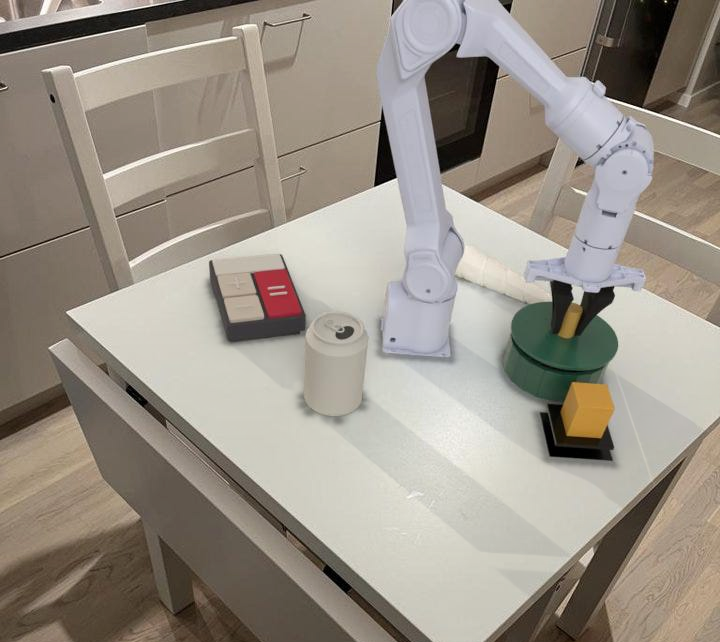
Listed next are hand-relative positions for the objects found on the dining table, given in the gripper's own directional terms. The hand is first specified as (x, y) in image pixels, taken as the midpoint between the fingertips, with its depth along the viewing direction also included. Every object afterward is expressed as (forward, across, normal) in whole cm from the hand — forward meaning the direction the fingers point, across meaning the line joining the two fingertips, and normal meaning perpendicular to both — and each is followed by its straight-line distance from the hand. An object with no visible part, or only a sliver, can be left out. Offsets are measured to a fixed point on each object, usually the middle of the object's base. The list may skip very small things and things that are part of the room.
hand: (565, 330), depth 97 cm
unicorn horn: (+7, -2, +18) cm, 19 cm away
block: (+5, +1, -13) cm, 14 cm away
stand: (+7, +1, -13) cm, 15 cm away
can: (+7, -30, -9) cm, 32 cm away
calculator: (+7, -42, +10) cm, 44 cm away
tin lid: (+1, 0, 0) cm, 1 cm away
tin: (+7, 0, 0) cm, 7 cm away
